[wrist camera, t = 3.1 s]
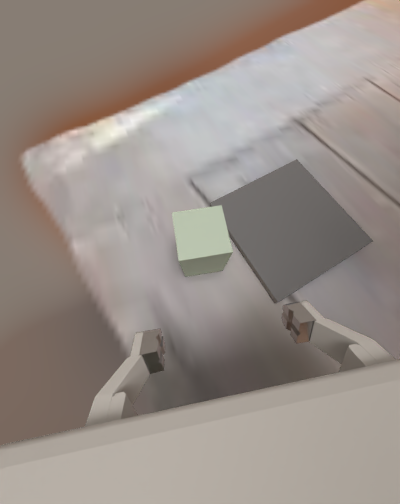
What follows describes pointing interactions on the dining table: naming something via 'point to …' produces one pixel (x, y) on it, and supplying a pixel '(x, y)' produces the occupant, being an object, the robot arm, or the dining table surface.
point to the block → (202, 240)
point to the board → (289, 229)
